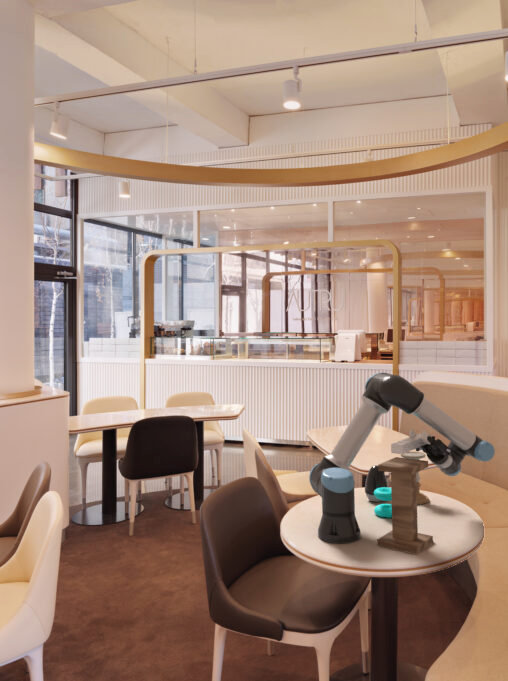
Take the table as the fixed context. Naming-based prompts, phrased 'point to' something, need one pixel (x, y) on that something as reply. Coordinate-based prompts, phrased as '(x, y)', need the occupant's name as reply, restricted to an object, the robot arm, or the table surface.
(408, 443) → the grey block
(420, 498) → the candle holder
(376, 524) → the table surface
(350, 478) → the robot arm
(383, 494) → the donuts
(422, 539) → the stand
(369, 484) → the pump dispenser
